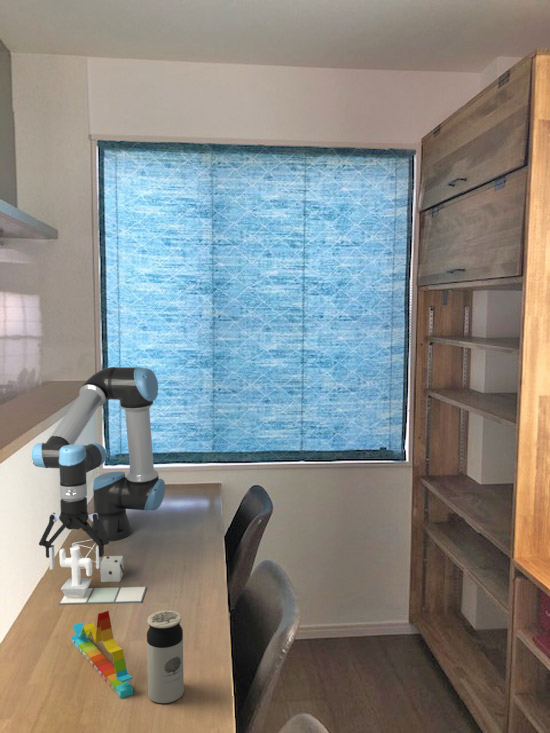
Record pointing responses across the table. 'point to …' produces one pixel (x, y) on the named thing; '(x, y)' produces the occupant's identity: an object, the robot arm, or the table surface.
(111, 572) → the die
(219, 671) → the table surface
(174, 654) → the travel mug
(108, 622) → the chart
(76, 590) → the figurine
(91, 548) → the geometric polyhedron
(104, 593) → the game mat
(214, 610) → the table surface
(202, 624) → the table surface
